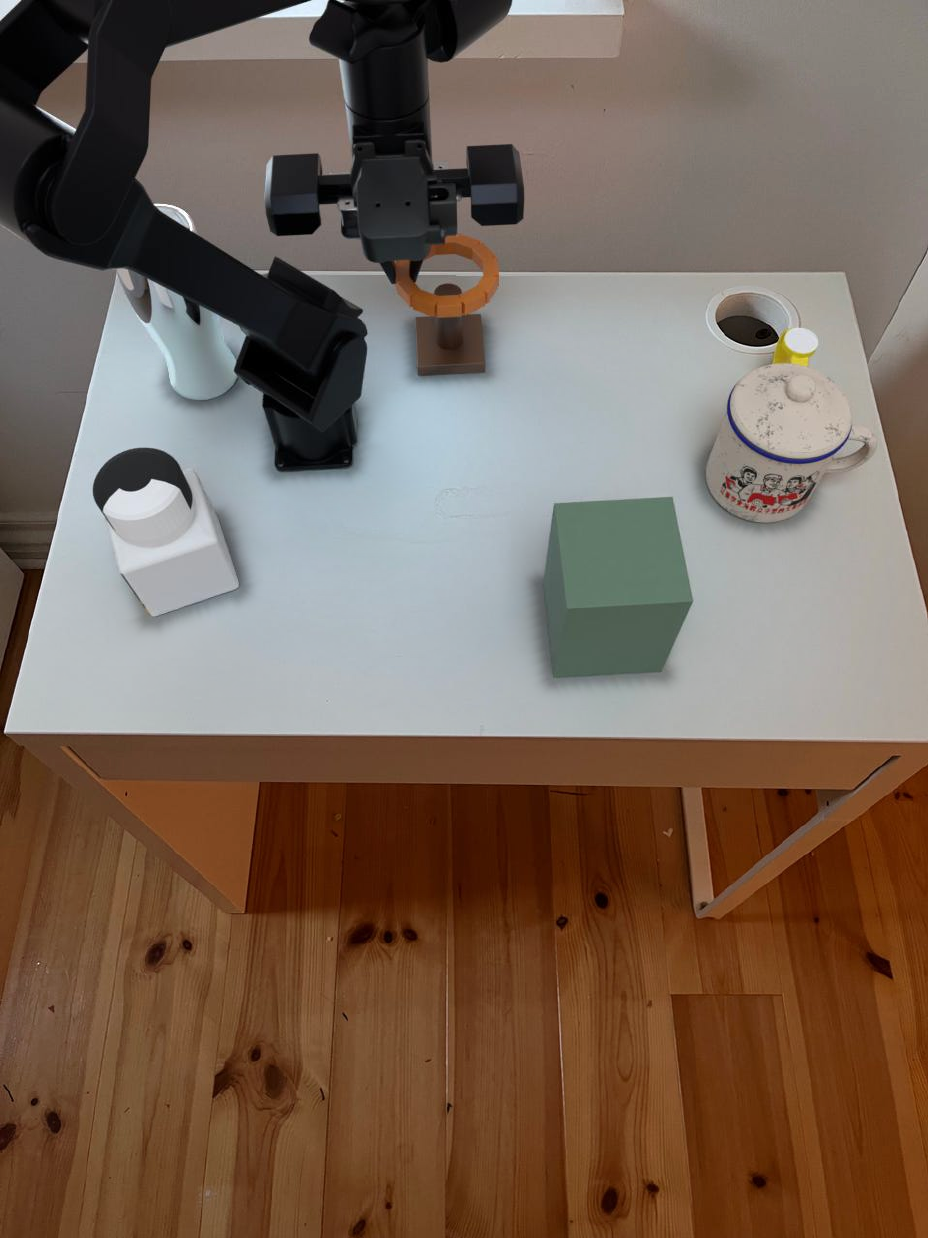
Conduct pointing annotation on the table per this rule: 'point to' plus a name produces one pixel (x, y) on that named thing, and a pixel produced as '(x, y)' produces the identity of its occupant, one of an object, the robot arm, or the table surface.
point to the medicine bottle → (163, 530)
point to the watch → (795, 346)
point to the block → (614, 586)
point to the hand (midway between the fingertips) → (403, 280)
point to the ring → (452, 303)
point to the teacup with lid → (781, 441)
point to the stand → (449, 341)
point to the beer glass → (182, 331)
